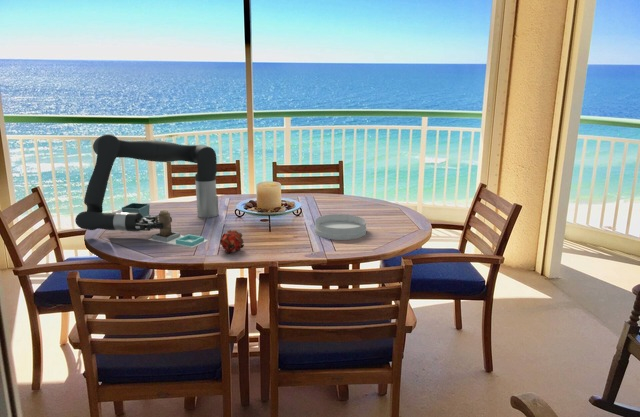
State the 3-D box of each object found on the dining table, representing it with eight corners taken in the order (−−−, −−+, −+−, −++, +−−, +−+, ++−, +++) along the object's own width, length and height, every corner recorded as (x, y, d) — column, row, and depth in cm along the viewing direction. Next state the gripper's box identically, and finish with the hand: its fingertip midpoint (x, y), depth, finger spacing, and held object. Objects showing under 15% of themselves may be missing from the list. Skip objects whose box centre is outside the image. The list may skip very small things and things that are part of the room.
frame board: (148, 242, 194) (147, 236, 194) (165, 235, 203) (165, 229, 202) (192, 250, 185) (191, 243, 185) (208, 242, 194) (208, 236, 193)
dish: (371, 227, 216) (371, 216, 215) (358, 242, 196) (359, 231, 195) (324, 222, 223) (324, 212, 222) (307, 236, 203) (307, 225, 202)
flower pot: (141, 228, 212) (139, 208, 210) (122, 227, 214) (120, 207, 211) (151, 223, 220) (150, 203, 218) (134, 221, 222) (132, 202, 220)
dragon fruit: (235, 248, 192) (233, 264, 181) (217, 237, 190) (214, 252, 179) (247, 232, 190) (246, 247, 179) (229, 221, 187) (227, 235, 176)
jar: (170, 235, 199) (168, 209, 196) (173, 238, 196) (171, 211, 193) (159, 237, 197) (157, 210, 194) (162, 240, 193) (159, 213, 191)
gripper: (119, 217, 188) (160, 218, 187) (135, 208, 202) (173, 209, 201) (120, 236, 190) (161, 237, 189) (136, 225, 204) (174, 226, 202)
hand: (167, 222), depth 195 cm, fingers open, 8 cm apart
